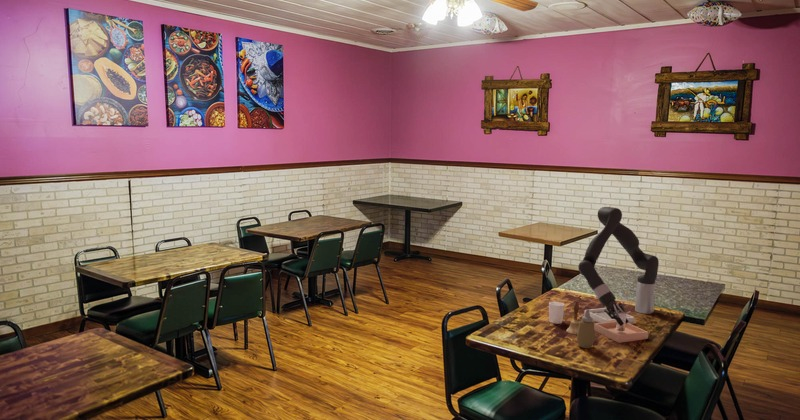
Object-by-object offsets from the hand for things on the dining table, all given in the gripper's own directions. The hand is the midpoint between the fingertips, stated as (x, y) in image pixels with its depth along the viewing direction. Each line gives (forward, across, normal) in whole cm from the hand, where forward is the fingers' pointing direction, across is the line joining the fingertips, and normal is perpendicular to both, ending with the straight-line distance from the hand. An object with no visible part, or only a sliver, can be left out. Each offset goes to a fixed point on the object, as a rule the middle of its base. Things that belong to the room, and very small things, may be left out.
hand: (624, 323), depth 281 cm
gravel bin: (-8, +16, +16) cm, 24 cm away
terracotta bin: (+3, 0, +6) cm, 6 cm away
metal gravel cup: (+1, 0, +4) cm, 4 cm away
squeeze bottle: (+2, -29, +7) cm, 30 cm away
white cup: (-19, -10, +28) cm, 35 cm away
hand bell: (-8, -15, +17) cm, 25 cm away
